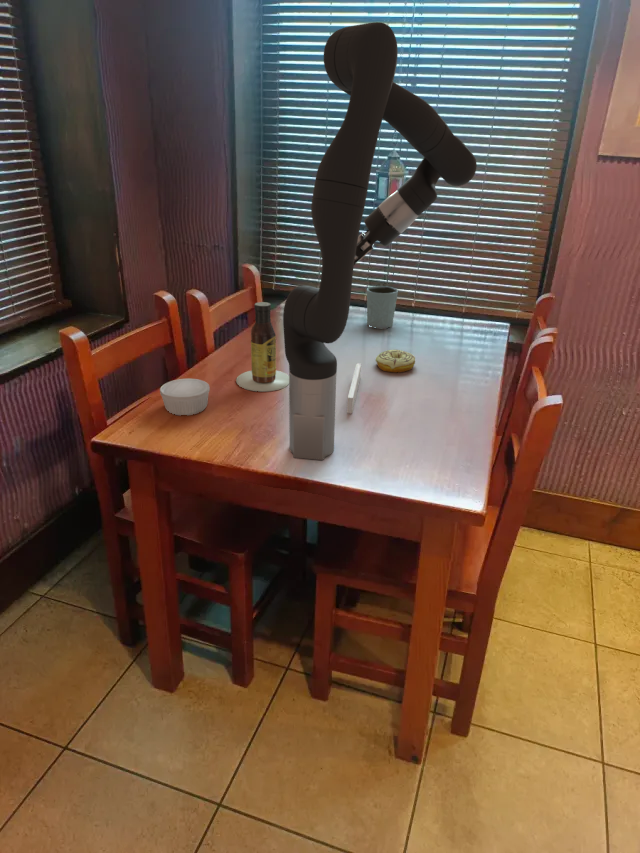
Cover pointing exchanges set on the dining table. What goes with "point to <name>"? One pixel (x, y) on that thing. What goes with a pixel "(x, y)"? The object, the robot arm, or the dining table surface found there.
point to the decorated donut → (395, 361)
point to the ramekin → (185, 396)
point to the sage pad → (249, 384)
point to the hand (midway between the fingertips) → (336, 269)
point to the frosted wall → (354, 388)
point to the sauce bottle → (263, 345)
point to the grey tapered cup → (381, 306)
